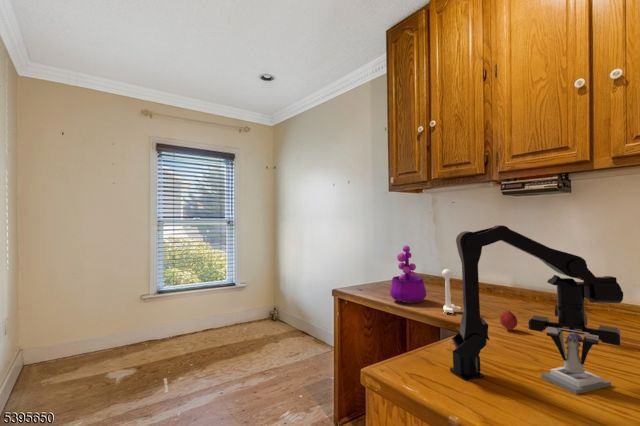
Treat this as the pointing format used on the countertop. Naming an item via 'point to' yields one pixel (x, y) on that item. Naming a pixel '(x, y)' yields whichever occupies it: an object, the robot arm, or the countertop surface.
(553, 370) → the collar plate
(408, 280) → the decorative plant
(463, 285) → the robot arm
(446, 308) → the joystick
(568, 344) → the rook chess piece
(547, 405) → the countertop surface
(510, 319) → the onion
